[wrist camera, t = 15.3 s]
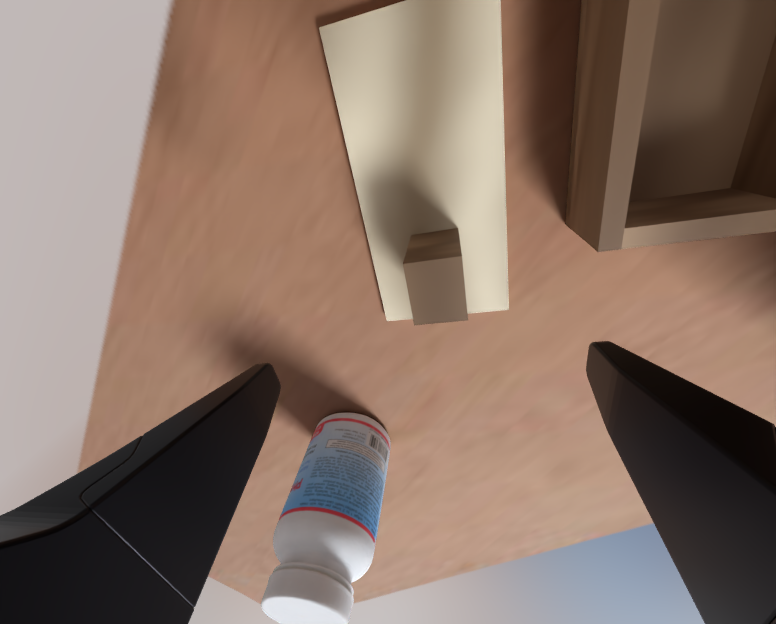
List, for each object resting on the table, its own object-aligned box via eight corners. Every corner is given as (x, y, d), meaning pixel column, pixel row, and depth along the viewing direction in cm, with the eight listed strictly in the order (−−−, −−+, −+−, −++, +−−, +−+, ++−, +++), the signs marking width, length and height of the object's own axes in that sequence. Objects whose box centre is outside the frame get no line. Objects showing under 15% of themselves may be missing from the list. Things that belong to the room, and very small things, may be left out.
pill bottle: (309, 407, 25) (228, 581, 16) (387, 409, 24) (351, 598, 15) (325, 458, 28) (265, 632, 19) (395, 462, 27) (369, 648, 18)
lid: (495, -20, 13) (522, -91, 8) (505, 301, 19) (523, 353, 15) (326, 33, 14) (275, -5, 10) (389, 313, 21) (374, 363, 16)
